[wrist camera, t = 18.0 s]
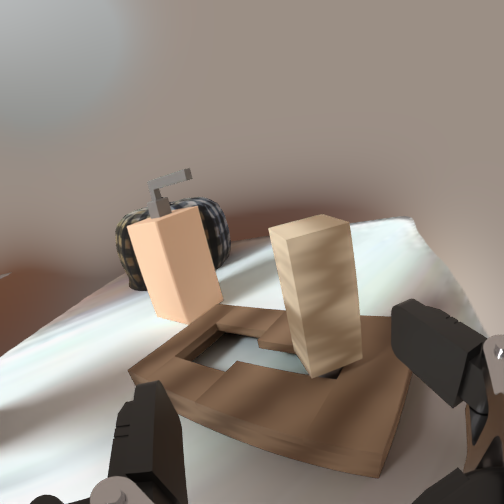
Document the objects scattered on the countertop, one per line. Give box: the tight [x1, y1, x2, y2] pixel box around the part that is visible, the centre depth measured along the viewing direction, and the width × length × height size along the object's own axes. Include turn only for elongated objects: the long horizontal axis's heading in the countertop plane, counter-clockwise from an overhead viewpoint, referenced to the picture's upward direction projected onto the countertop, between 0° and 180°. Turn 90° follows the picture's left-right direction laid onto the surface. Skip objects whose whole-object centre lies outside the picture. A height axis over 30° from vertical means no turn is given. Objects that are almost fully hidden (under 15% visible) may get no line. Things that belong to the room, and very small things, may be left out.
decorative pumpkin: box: [116, 197, 231, 291], centre depth 73 cm, size 30×29×20 cm
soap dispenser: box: [127, 168, 223, 325], centre depth 46 cm, size 13×9×22 cm
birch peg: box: [268, 214, 362, 379], centre depth 23 cm, size 5×5×16 cm
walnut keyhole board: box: [128, 304, 412, 478], centre depth 28 cm, size 26×16×4 cm, turn 57°
